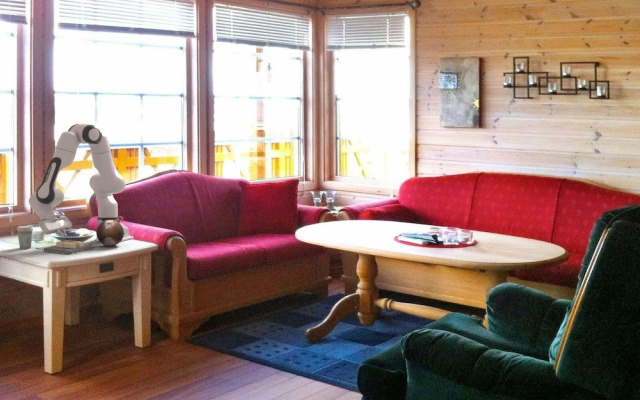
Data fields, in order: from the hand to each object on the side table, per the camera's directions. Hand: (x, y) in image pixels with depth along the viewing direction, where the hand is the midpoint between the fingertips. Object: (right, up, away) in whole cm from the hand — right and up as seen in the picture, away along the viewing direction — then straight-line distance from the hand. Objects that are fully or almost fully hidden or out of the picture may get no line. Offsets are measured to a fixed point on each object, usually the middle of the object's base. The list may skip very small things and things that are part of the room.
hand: (64, 236), depth 445 cm
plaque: (-2, -4, +1) cm, 5 cm away
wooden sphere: (+21, -6, +15) cm, 27 cm away
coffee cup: (-23, -7, +5) cm, 25 cm away
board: (+2, -7, 0) cm, 8 cm away
